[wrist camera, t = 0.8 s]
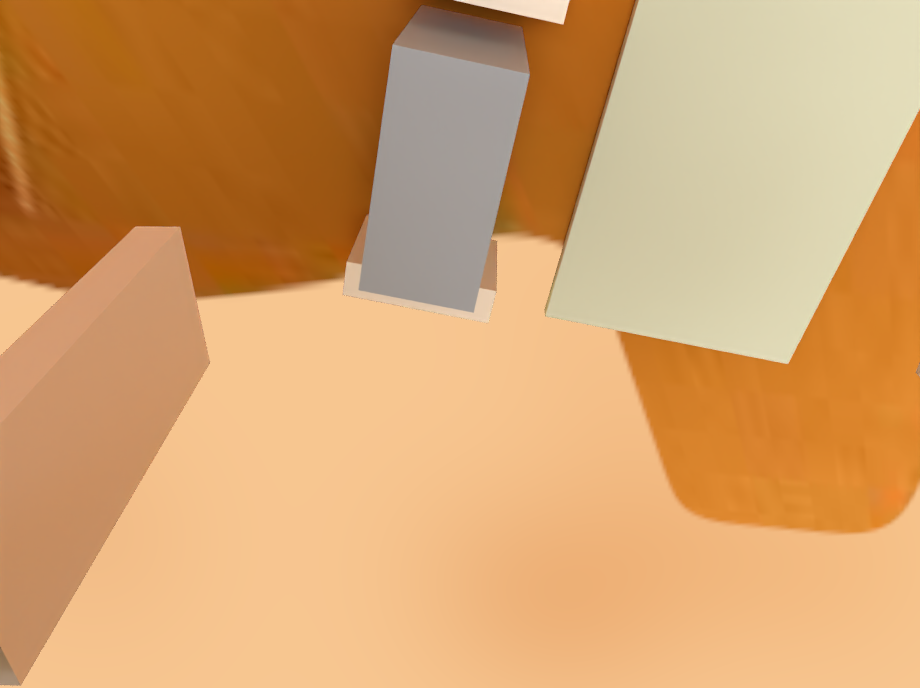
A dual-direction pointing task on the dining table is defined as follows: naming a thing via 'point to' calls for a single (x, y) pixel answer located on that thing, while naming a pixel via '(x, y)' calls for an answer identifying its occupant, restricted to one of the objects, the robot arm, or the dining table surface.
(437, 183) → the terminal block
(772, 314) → the sage mat
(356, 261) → the white rectangular blocks
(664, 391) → the dining table surface
